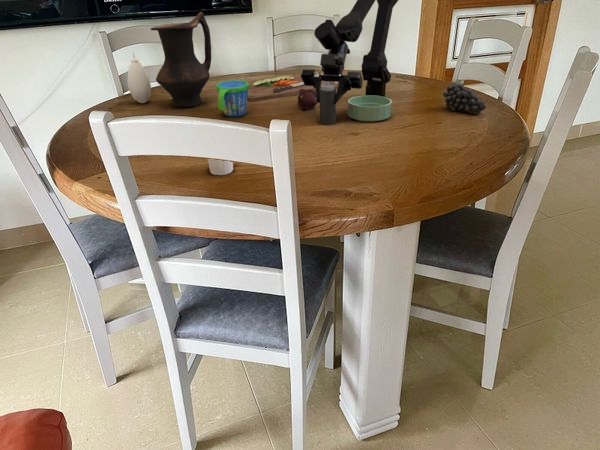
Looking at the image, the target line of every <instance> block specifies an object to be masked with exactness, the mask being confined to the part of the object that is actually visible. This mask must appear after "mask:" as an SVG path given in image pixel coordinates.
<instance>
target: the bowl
mask: <svg viewBox="0 0 600 450" xmlns="http://www.w3.org/2000/svg"><path fill="white" fill-rule="evenodd" d="M386 97H387V96H386ZM386 97H382V96H375V95H356V96H352V97H350V98H348V99H347V116H348V117H349V118H351V119H353V120H356V121H361V122H380V121H383V120H386V119H389V118H391V116H392V109H393V107H392V106H393V100H392V99H391V98H389V97H388V98H386Z"/></svg>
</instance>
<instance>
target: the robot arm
mask: <svg viewBox="0 0 600 450" xmlns="http://www.w3.org/2000/svg"><path fill="white" fill-rule="evenodd" d="M375 2H377V11H376V16H375V22H374V27H373V29H374V30H373V33H372V38H371V45H370V50H369V51H368V53H367V54H364V55H363V57H362V62H361V71H359V70H348V71H347V75H346V74H343V73H344V70H345V63H346V58H347V55H349V54H351V49H350V48H349V45H348V44H347V42H348V43H356V42H357V41H358V40H359V38H360V36H361V34H362V33H363V22H364V20H365V18H366V17H367V15H368V14H369V12H370V11H371V8H372V7H373V5H374V4H375ZM398 2H399V0H356V2H355V3H354V5H353V7H352V8H351V10H350V11H349V12H348V13H347V14H345V15H344V16H343V17H341V19H339V21H338V22H337V23H336V25H335V24H334V21H333V20H332V19H329V18H327V19H325V21H324V22H322V23H320V24H319V25H318V26H317V27H315V30H314V33H313V34H314V37H315V38H316V39H317V41H318V42H319V43H320V45H321V46H322V47H323V49H324V50H327V51H328V52H327V53H321V55H320V62H319V66H320V67H321V72H323V73H320V72H317V71H316V69H315V68H303V69H302V70H301V73H300V74H301V78H302V80H303V82H304V85H306V86H313V87H314V88H316V92H315V93H316V95H317V102H318V103H317V104H320V88H321V85H322V84H321V82H322V81H330V82H339V84H338V88H336V95H335V99H334V104H336V105H337V104H338V102H339V101H340V100H341V98H342V97H343V96H344V95H345V94H346V93H347V92H348V91H351V90H352V89H355V90H357V89H358V90H360V89H362V87H363V82H364V81H366V85H365V92H364V93H365V95H375V96H382V97H386V98H389V97H388V96H386V88H387V84H388V83H389V82H390V81H391V78H392V74H391V73H390V71H389V69H388V59H387V55H386V52H385V51H386V47H387V41H388V37H389V36H388V35H389V30H390V24H391V19H392V14H393V9H394V7H395V6H396V4H397V3H398Z"/></svg>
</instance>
